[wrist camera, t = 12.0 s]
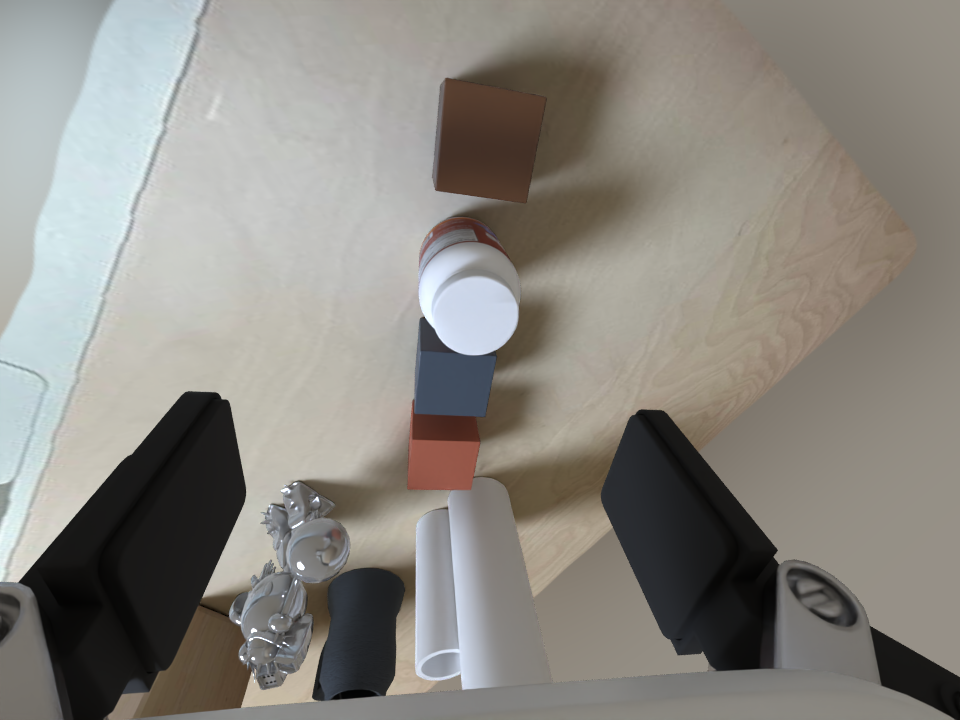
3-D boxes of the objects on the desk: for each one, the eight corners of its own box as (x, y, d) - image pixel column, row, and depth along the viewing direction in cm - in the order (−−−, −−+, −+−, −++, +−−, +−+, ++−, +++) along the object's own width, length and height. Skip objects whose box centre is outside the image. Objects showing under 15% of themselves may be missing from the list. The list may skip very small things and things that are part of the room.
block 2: (419, 317, 34) (420, 350, 29) (486, 323, 35) (497, 356, 30) (414, 375, 37) (414, 414, 32) (476, 379, 38) (485, 417, 33)
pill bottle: (509, 281, 33) (543, 350, 24) (434, 304, 34) (440, 381, 24) (488, 203, 30) (520, 246, 21) (407, 229, 30) (400, 283, 21)
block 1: (440, 83, 26) (445, 77, 22) (525, 99, 27) (547, 97, 23) (432, 178, 29) (434, 190, 24) (509, 189, 30) (526, 203, 25)
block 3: (412, 399, 38) (411, 439, 33) (472, 402, 39) (480, 441, 34) (408, 446, 41) (407, 489, 36) (465, 447, 42) (471, 490, 37)
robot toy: (321, 438, 39) (274, 599, 26) (378, 466, 41) (361, 625, 28) (245, 530, 43) (172, 705, 30) (300, 550, 46) (255, 719, 33)
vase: (474, 467, 43) (511, 701, 26) (523, 495, 46) (586, 721, 29) (407, 530, 46) (400, 773, 29) (457, 552, 49) (478, 785, 32)
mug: (356, 558, 48) (341, 670, 38) (420, 583, 52) (420, 691, 42) (298, 611, 51) (271, 726, 42) (362, 631, 55) (350, 741, 45)
